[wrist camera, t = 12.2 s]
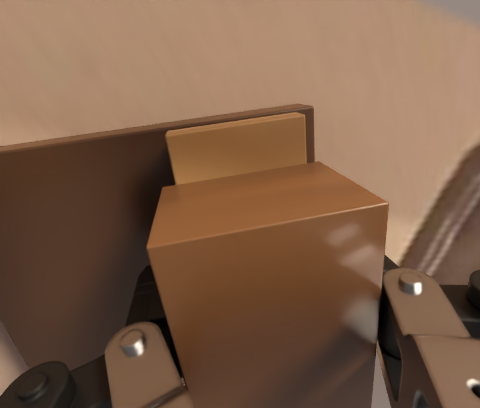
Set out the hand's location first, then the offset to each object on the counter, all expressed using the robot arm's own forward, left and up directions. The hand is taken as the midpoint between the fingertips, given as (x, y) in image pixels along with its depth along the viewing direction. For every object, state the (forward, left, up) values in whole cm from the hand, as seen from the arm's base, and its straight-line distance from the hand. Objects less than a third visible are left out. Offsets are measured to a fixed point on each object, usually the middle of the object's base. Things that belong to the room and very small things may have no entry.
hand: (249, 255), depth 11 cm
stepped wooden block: (0, 0, -1) cm, 1 cm away
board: (-3, 0, -2) cm, 4 cm away
